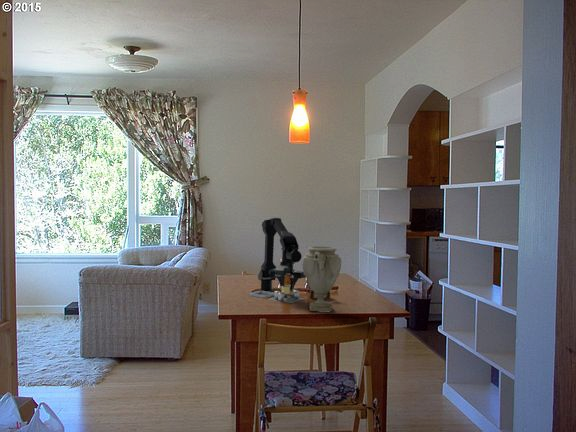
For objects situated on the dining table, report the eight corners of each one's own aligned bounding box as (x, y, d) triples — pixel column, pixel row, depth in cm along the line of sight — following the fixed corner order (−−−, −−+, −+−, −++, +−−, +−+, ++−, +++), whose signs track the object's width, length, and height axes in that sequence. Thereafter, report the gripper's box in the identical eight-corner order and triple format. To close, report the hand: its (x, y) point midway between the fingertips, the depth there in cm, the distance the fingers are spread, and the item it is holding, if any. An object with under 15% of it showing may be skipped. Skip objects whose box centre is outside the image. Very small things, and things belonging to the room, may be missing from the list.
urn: (300, 303, 279) (302, 244, 277) (337, 304, 279) (339, 244, 277) (301, 315, 255) (303, 249, 253) (342, 316, 255) (344, 250, 253)
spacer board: (282, 296, 296) (282, 295, 296) (305, 300, 288) (305, 298, 288) (267, 301, 284) (267, 299, 284) (290, 304, 277) (290, 303, 277)
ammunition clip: (328, 299, 293) (329, 276, 292) (330, 299, 291) (330, 276, 291) (309, 299, 291) (309, 276, 290) (310, 300, 289) (310, 277, 288)
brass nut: (285, 291, 290) (286, 284, 290) (294, 292, 287) (294, 285, 287) (279, 293, 285) (279, 286, 285) (288, 294, 282) (288, 287, 282)
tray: (260, 294, 301) (260, 290, 301) (275, 296, 296) (275, 292, 296) (249, 297, 293) (249, 293, 293) (265, 299, 288) (265, 295, 287)
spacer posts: (285, 295, 295) (286, 288, 295) (301, 298, 289) (302, 290, 289) (271, 299, 283) (271, 292, 283) (287, 302, 278) (287, 294, 278)
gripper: (263, 259, 283) (262, 290, 284) (294, 263, 273) (294, 294, 274) (275, 257, 293) (275, 287, 294) (306, 260, 283) (305, 291, 284)
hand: (286, 290), depth 286 cm, fingers closed on brass nut, 5 cm apart
